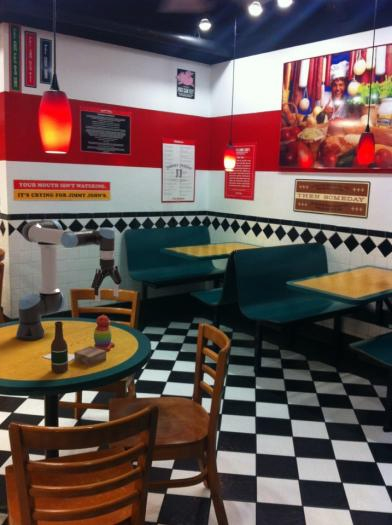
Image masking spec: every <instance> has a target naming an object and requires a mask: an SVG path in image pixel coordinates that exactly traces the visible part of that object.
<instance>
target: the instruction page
mask: <svg viewBox="0 0 392 525" xmlns="http://www.w3.org/2000/svg"><path fill="white" fill-rule="evenodd" d="M42 358H43V359H48V360H51V352H50V353H48V354H46V355H43V356H42ZM73 360H75V358H74V354H72V353H68V363H70V362H72V361H73Z"/></svg>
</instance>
